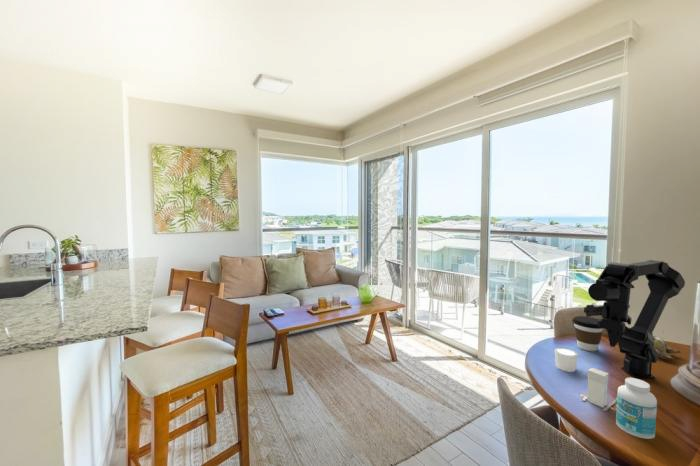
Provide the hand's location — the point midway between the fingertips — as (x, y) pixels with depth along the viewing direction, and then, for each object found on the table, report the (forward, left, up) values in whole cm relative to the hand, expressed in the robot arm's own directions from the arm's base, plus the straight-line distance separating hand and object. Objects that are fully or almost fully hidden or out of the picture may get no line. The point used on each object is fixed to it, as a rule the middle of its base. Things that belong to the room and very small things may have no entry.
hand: (612, 346), depth 101 cm
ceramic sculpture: (-30, -23, -12) cm, 40 cm away
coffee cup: (-8, -26, -12) cm, 30 cm away
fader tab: (+14, +15, -11) cm, 23 cm away
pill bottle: (+12, +25, -12) cm, 30 cm away
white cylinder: (+11, -6, -12) cm, 17 cm away
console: (+10, +12, -12) cm, 20 cm away
